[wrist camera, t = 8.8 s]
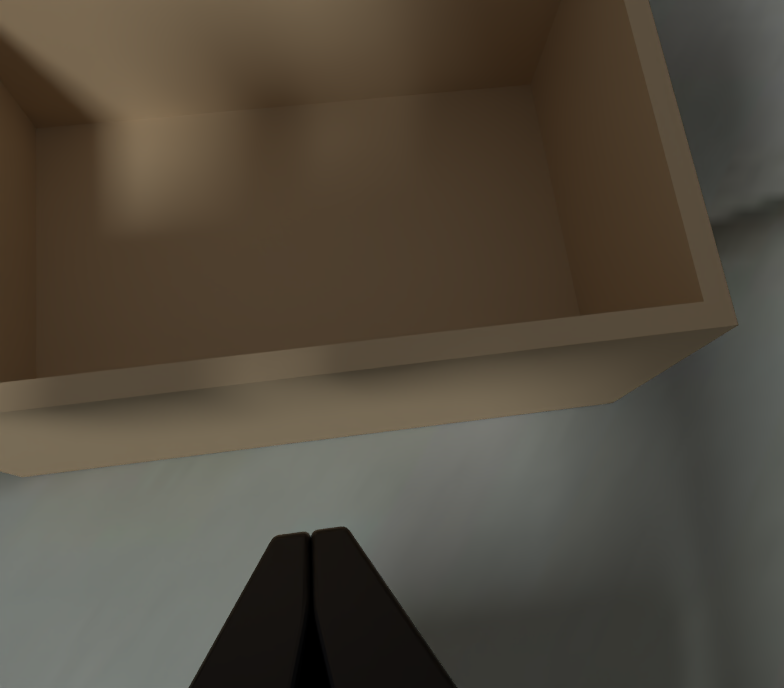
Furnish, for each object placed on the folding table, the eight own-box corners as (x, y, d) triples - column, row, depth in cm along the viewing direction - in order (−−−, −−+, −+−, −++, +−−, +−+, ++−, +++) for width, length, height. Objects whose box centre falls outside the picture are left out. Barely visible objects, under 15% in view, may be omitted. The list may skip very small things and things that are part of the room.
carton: (612, 402, 23) (738, 325, 16) (22, 477, 22) (-160, 431, 14) (540, 77, 26) (615, -120, 19) (24, 122, 25) (-123, -71, 17)
